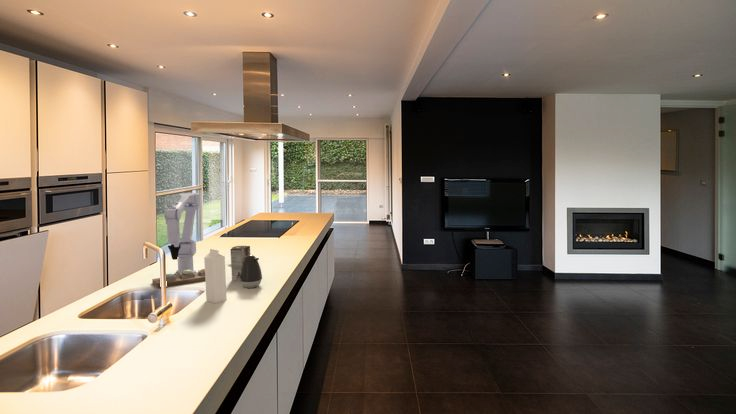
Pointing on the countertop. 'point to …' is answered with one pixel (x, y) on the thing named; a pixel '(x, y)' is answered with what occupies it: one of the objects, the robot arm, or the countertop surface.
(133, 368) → the countertop surface
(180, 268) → the robot arm
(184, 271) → the sage button
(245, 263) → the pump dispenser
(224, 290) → the milk
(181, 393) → the countertop surface
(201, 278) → the button panel
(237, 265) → the coffee box
